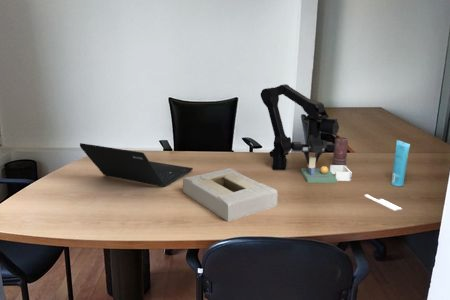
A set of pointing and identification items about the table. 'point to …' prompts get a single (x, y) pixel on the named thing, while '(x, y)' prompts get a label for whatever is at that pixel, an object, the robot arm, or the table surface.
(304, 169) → the panel
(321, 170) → the ball
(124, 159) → the laptop
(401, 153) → the tube
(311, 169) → the beige and blue block
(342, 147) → the can
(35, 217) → the table surface
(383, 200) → the white plastic strip tool
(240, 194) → the box
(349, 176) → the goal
